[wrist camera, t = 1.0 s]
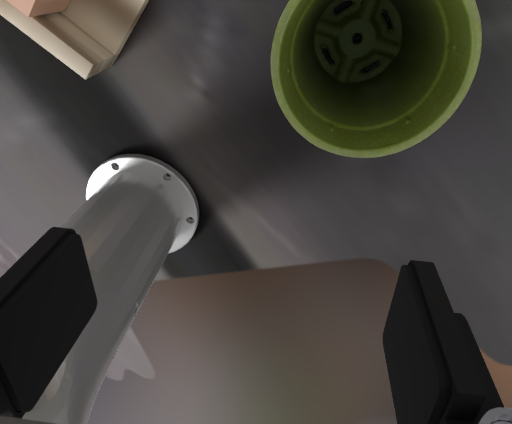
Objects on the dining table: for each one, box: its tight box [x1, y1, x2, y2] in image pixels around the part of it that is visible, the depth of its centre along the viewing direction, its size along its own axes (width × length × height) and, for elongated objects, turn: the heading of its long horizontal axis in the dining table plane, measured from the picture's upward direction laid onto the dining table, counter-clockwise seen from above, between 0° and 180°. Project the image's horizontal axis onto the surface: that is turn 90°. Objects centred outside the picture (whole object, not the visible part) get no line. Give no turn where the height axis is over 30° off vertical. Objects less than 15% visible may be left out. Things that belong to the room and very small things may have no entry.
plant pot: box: [271, 0, 482, 158], centre depth 28 cm, size 12×12×11 cm
